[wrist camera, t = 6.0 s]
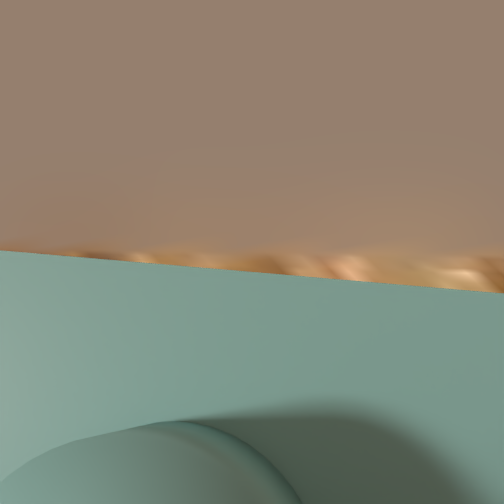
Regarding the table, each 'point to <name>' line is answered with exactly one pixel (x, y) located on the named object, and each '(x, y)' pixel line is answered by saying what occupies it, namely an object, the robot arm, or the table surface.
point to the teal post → (244, 387)
